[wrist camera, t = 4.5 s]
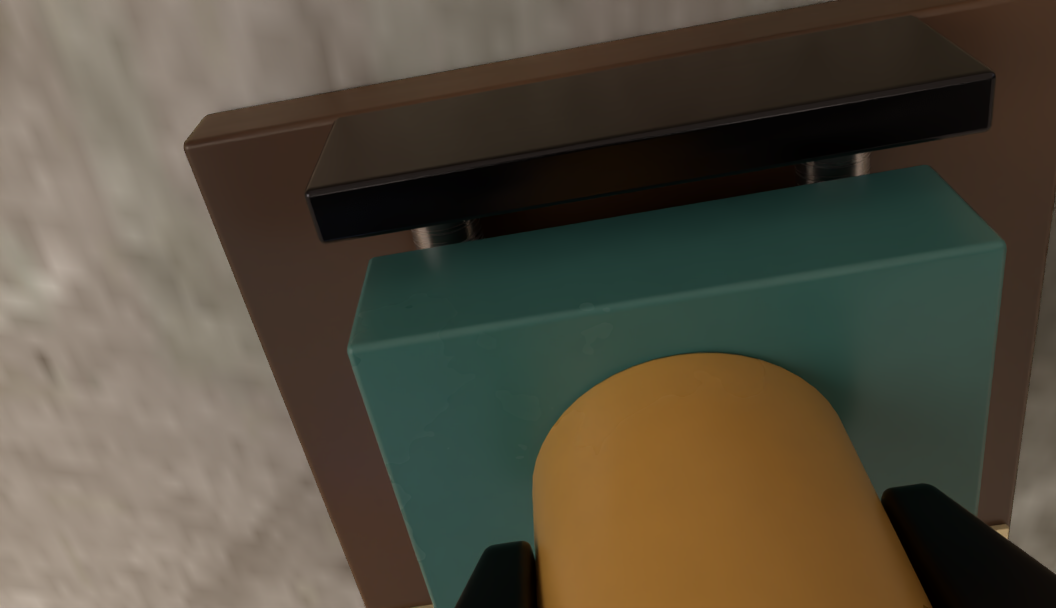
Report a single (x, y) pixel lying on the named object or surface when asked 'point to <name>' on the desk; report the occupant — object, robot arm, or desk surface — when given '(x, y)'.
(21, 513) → the desk surface
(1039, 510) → the desk surface
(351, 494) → the rail
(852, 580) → the teal slider with knob
